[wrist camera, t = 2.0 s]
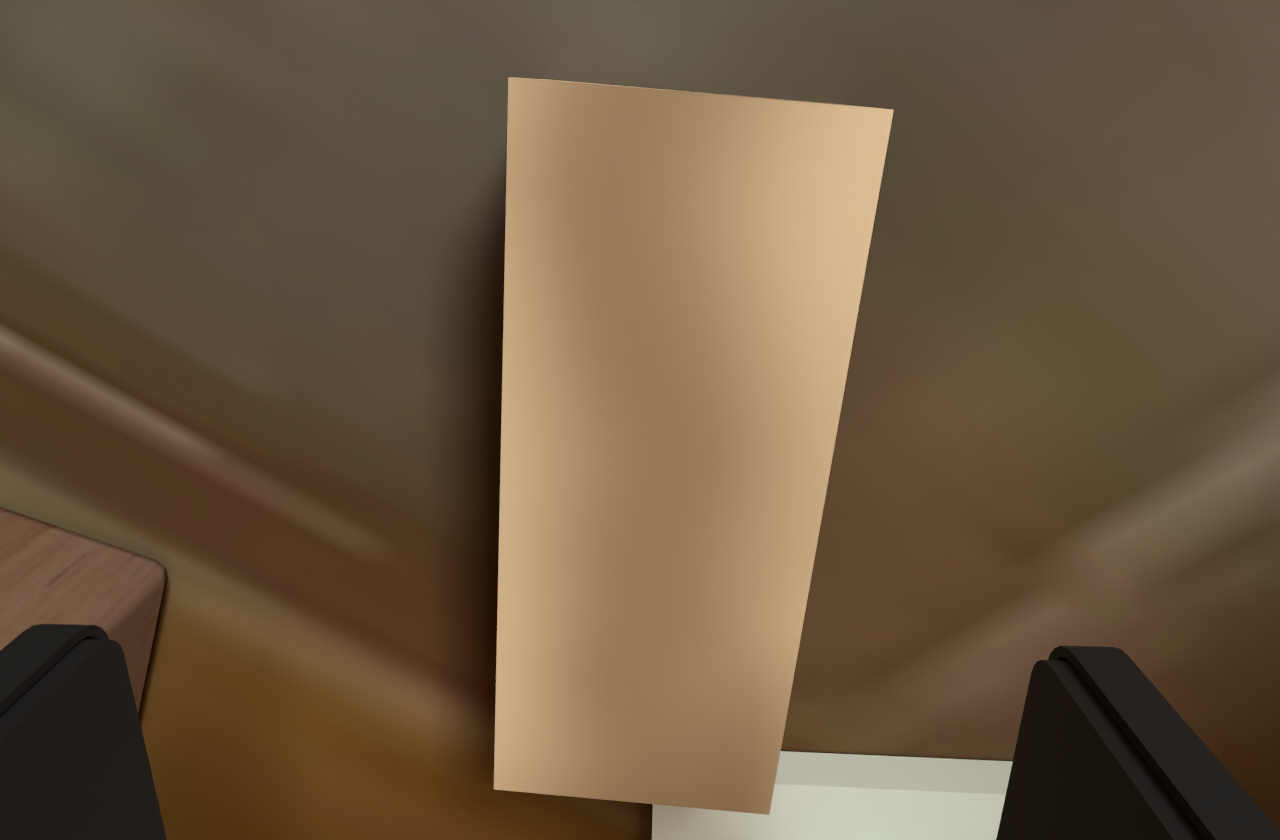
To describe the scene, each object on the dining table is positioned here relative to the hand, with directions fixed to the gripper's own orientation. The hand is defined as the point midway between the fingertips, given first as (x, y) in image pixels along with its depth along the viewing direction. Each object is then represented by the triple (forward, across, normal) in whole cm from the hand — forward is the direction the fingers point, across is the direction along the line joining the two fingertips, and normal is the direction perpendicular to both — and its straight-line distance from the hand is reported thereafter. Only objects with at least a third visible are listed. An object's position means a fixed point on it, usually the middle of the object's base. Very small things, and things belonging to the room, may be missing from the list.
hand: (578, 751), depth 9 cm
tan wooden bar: (+9, -1, 0) cm, 9 cm away
